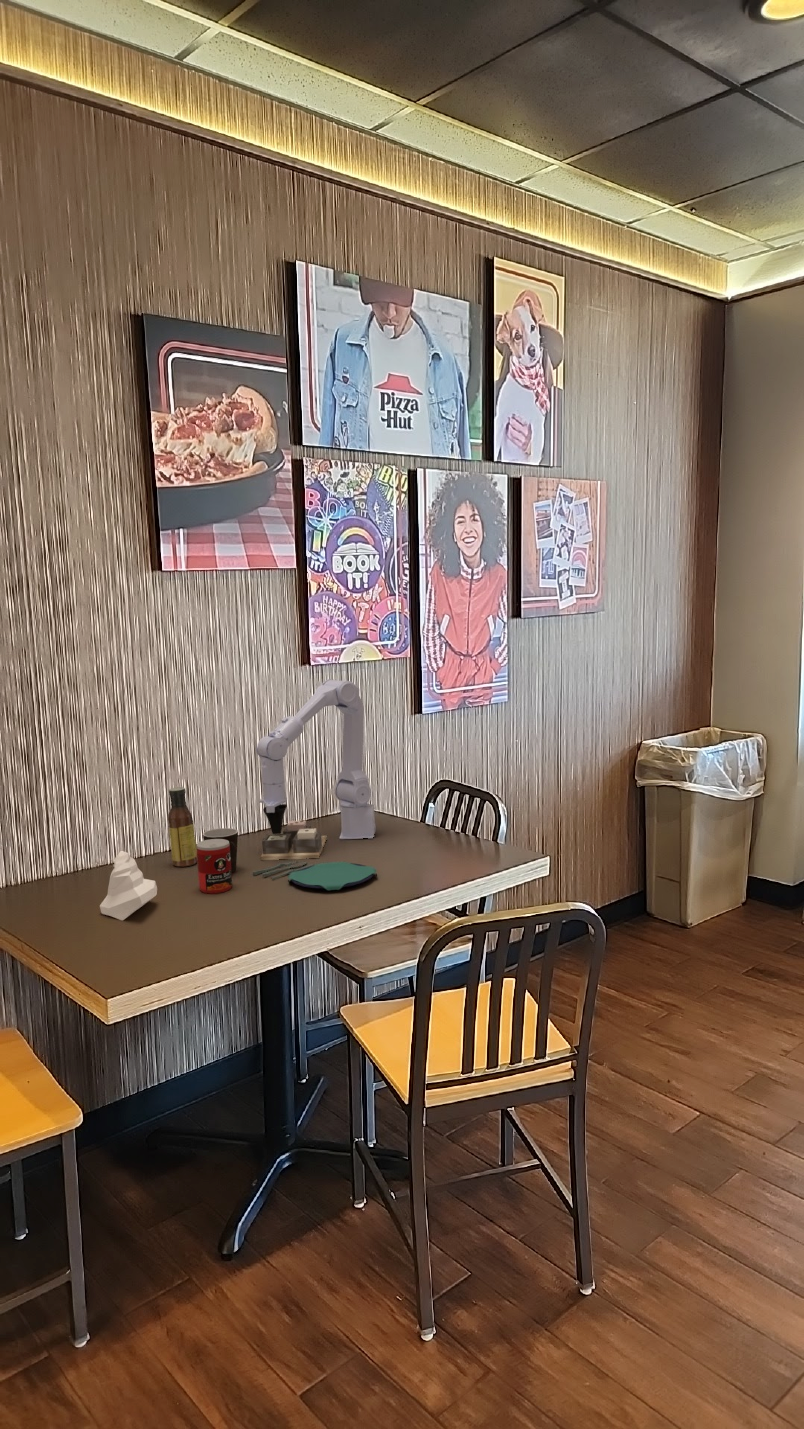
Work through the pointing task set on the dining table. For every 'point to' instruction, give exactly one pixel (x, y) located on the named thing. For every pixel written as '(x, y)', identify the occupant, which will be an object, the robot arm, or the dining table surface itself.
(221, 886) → the canned food
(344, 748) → the robot arm
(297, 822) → the tile three
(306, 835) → the tile one
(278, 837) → the tile two
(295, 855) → the console
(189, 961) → the dining table surface
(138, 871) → the soft serve ice cream
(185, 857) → the sauce bottle
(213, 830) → the coffee mug
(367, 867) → the cutlery set
